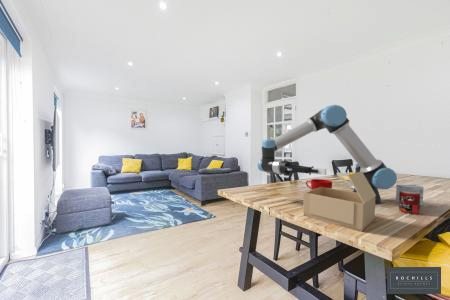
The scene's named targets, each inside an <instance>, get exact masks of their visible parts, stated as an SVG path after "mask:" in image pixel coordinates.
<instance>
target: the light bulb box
mask: <svg viewBox="0 0 450 300" xmlns="http://www.w3.org/2000/svg"><path fill="white" fill-rule="evenodd" d="M395 189H396V190H395V191H396V192H395V202H396V203H398V204H399V194H400V190H401V189H405V190H414V191H418V192H420V206H423V205H424V186H422V185H417V184H396V188H395Z"/></svg>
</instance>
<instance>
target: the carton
mask: <svg viewBox="0 0 450 300" xmlns="http://www.w3.org/2000/svg"><path fill="white" fill-rule="evenodd" d="M302 203H303V206H302V213H303V216H304V217H307V218H310V219H311V218H312V219H315V220H318V221H322V222H325V223H329V224H333V225H337V226H340V227H344V228H346V229H350V230H354V231H357V232H363V231H364V230H366V229H367V228H368V227H369V226H370V225H371V224H372V223H373V222H374V221H375V217H376V214H375V213H376V203H375V197H373V198H372V199H370V200H369V201H367V202H366V203H364V204H363V202H362V200H361V198H360V197H359V195H358V193H356V192H353V191H349V190H344V189H343V190H342V189H338V188H332V189H331V188H324V187H319V188H316V189H313V190H312V189H311V190H307V191H303V202H302Z"/></svg>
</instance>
